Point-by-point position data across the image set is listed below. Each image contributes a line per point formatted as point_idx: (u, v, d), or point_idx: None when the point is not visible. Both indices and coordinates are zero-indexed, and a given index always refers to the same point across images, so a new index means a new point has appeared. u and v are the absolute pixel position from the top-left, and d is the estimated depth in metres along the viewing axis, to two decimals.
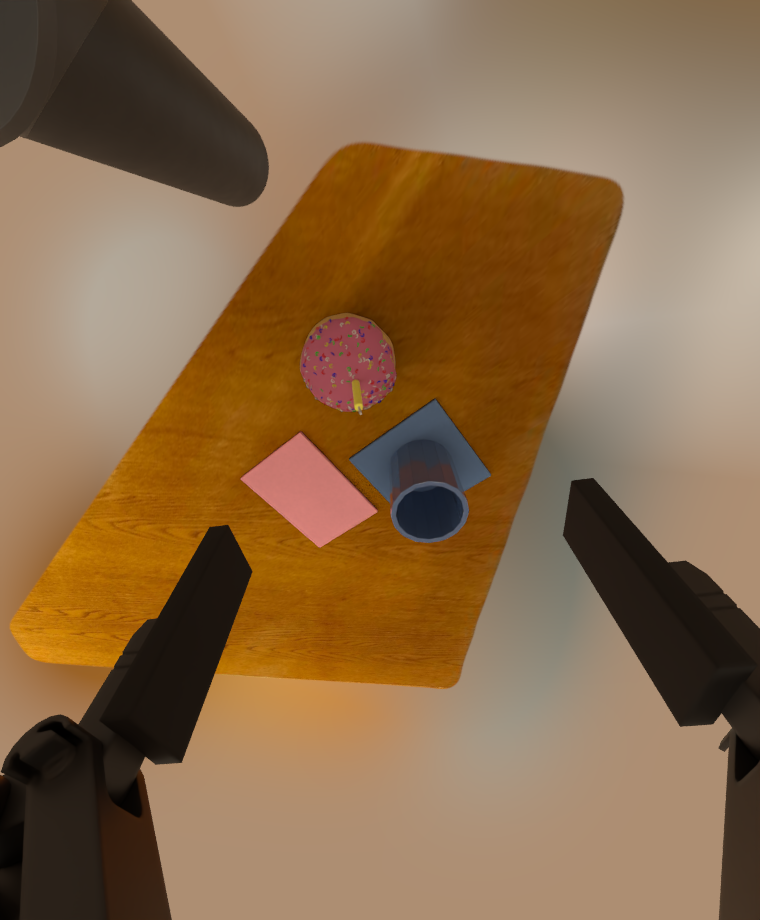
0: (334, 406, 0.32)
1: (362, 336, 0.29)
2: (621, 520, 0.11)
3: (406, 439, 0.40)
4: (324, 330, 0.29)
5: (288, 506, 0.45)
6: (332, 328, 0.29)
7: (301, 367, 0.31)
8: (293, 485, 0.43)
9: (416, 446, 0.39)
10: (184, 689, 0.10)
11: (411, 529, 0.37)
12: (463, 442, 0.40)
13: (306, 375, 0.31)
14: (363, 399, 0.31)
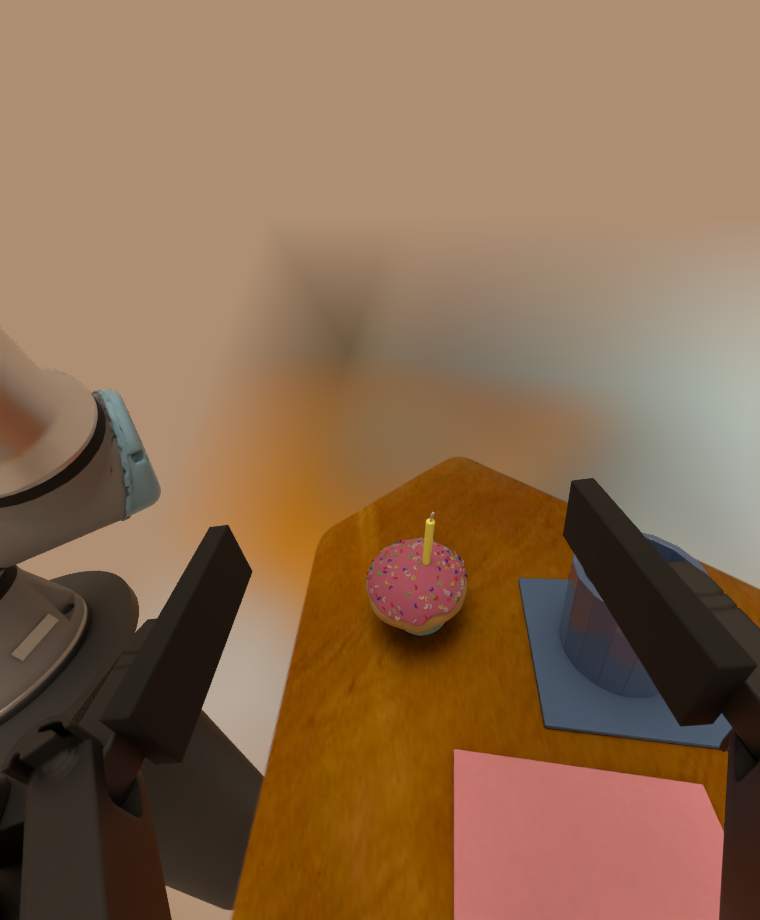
0: (434, 605, 0.27)
1: (401, 542, 0.32)
2: (621, 520, 0.11)
3: (553, 631, 0.29)
4: (373, 564, 0.31)
5: None
6: (377, 557, 0.31)
7: (378, 606, 0.28)
8: (546, 894, 0.18)
9: None
10: (184, 689, 0.10)
11: None
12: None
13: (387, 603, 0.27)
14: (447, 572, 0.28)
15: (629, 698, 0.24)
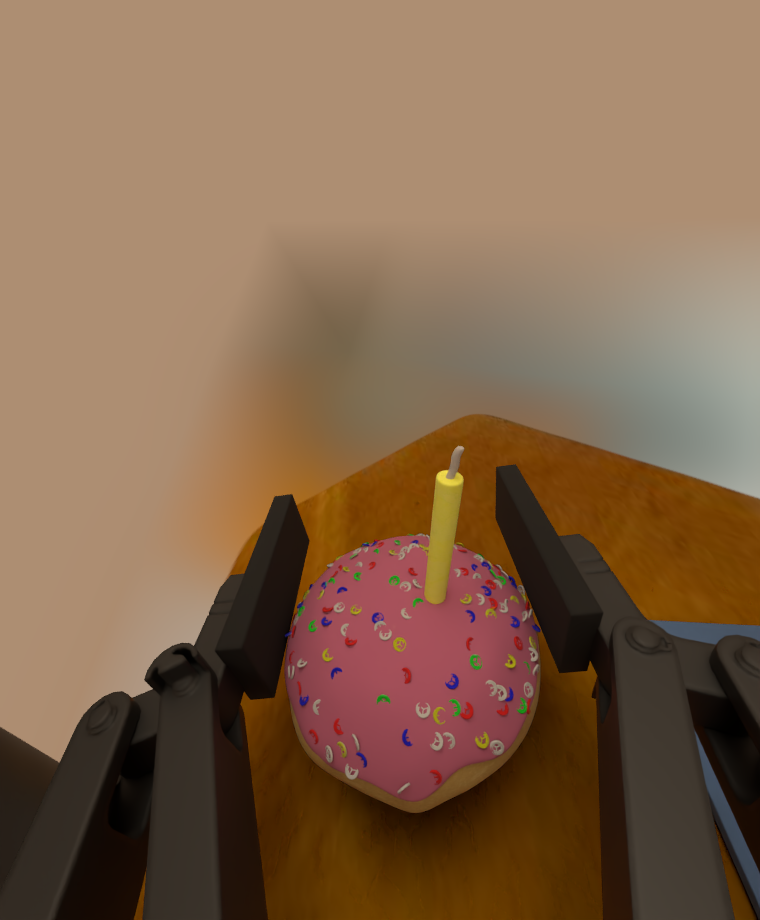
0: (463, 737, 0.09)
1: (375, 544, 0.14)
2: (529, 500, 0.12)
3: None
4: (307, 597, 0.13)
5: None
6: (318, 579, 0.13)
7: (302, 725, 0.10)
8: None
9: None
10: (272, 633, 0.11)
11: None
12: None
13: (323, 722, 0.10)
14: (494, 624, 0.10)
15: None
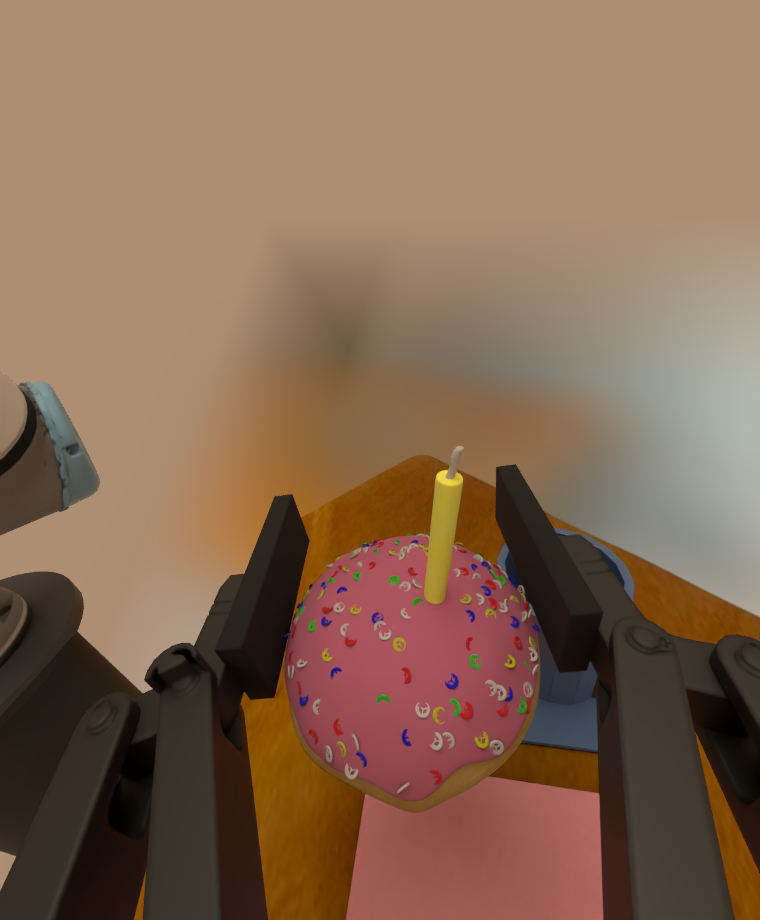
0: (463, 737, 0.09)
1: (374, 544, 0.14)
2: (529, 500, 0.12)
3: None
4: (306, 597, 0.13)
5: None
6: (318, 579, 0.13)
7: (302, 725, 0.10)
8: (441, 915, 0.17)
9: None
10: (272, 634, 0.11)
11: None
12: None
13: (323, 721, 0.10)
14: (493, 624, 0.10)
15: (556, 704, 0.23)
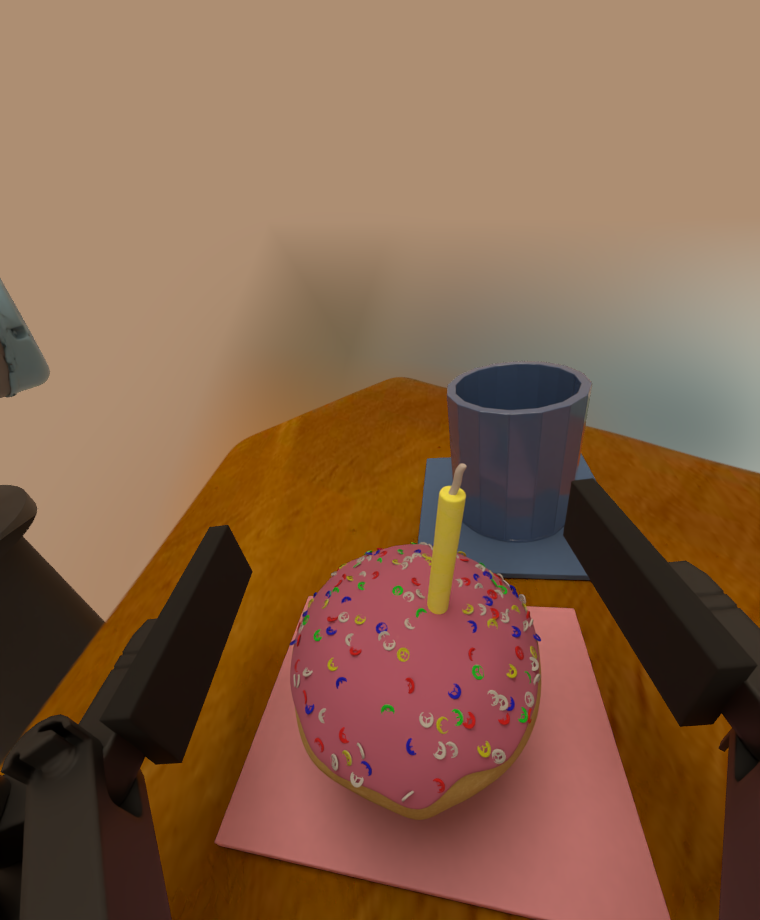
0: (466, 746, 0.09)
1: (378, 553, 0.14)
2: (621, 520, 0.11)
3: None
4: (311, 605, 0.13)
5: None
6: (323, 588, 0.14)
7: (308, 733, 0.10)
8: None
9: None
10: (184, 689, 0.10)
11: None
12: None
13: (329, 730, 0.10)
14: (495, 634, 0.11)
15: (513, 543, 0.21)
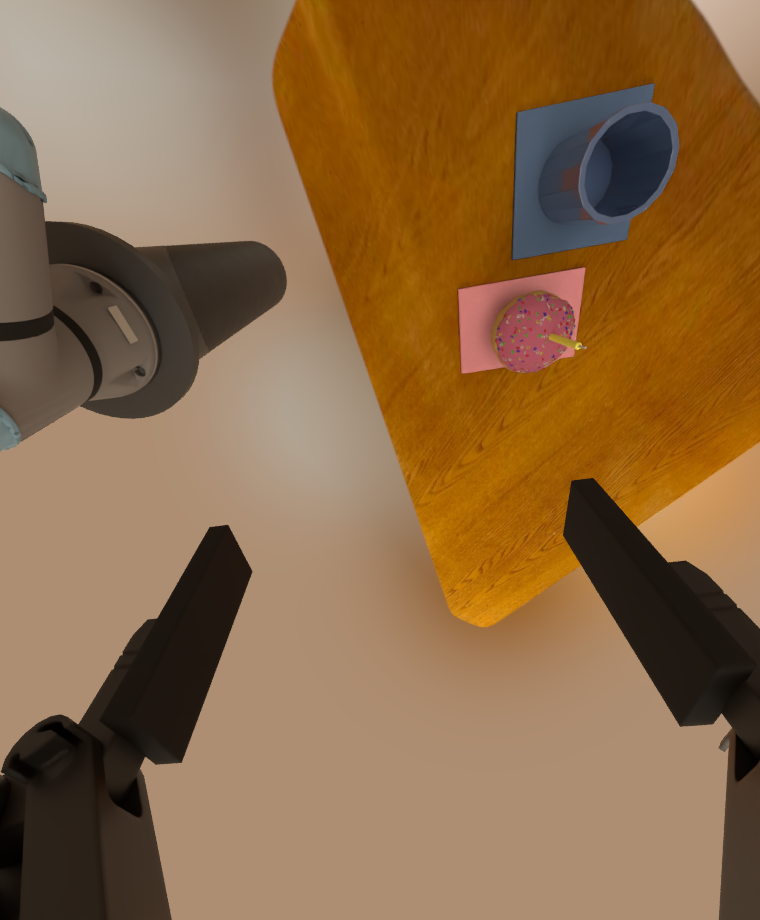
0: (551, 362, 0.39)
1: (525, 312, 0.36)
2: (621, 520, 0.11)
3: (535, 178, 0.35)
4: (502, 336, 0.38)
5: None
6: (505, 330, 0.37)
7: (510, 368, 0.40)
8: None
9: (549, 165, 0.34)
10: (184, 689, 0.10)
11: (629, 209, 0.30)
12: (586, 102, 0.32)
13: (517, 368, 0.40)
14: (565, 338, 0.37)
15: None
